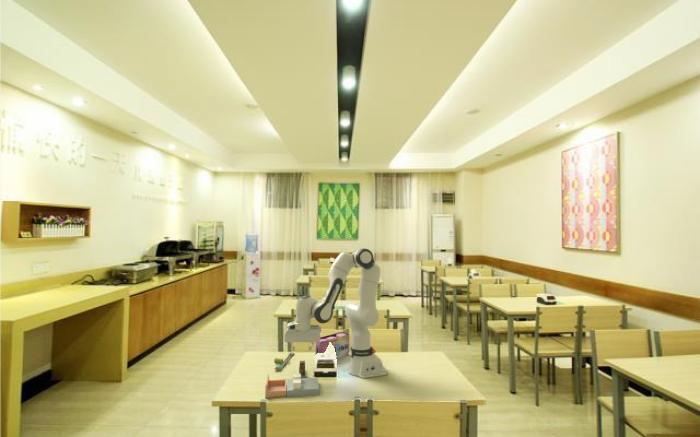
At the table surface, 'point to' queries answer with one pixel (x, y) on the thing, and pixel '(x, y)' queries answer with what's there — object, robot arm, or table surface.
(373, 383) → the table surface
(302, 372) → the scraper
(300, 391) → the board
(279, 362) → the flamethrower
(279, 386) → the box
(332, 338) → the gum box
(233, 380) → the table surface
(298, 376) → the tile
